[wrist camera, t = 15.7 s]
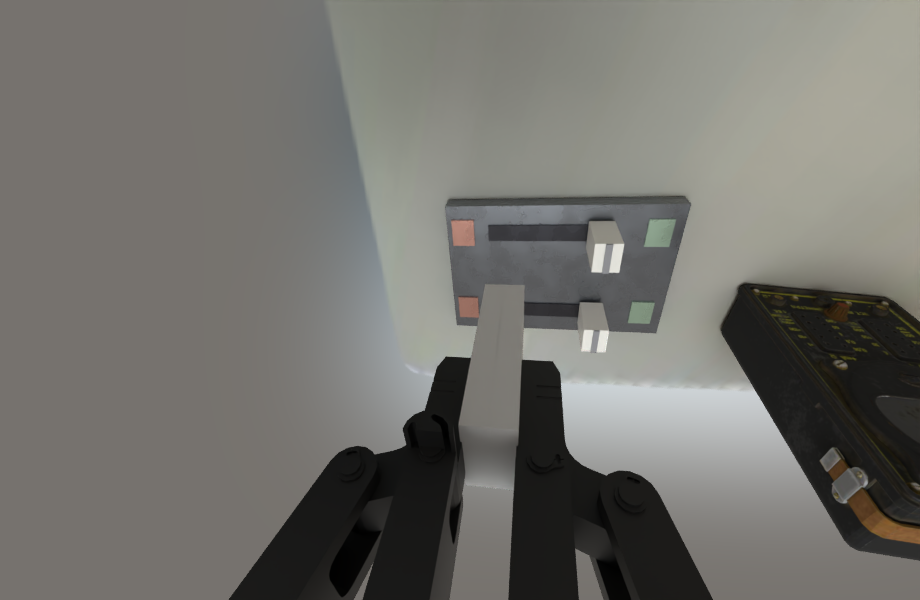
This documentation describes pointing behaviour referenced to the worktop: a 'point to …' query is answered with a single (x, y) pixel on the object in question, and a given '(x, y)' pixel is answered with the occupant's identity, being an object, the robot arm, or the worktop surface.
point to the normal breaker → (604, 247)
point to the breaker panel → (565, 257)
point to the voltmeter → (841, 402)
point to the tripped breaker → (592, 327)
